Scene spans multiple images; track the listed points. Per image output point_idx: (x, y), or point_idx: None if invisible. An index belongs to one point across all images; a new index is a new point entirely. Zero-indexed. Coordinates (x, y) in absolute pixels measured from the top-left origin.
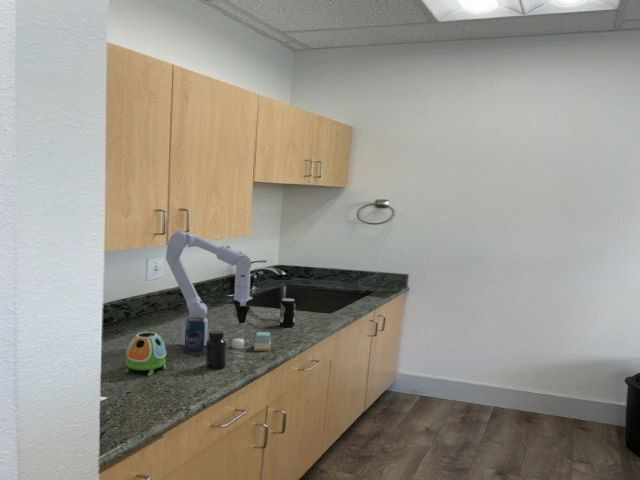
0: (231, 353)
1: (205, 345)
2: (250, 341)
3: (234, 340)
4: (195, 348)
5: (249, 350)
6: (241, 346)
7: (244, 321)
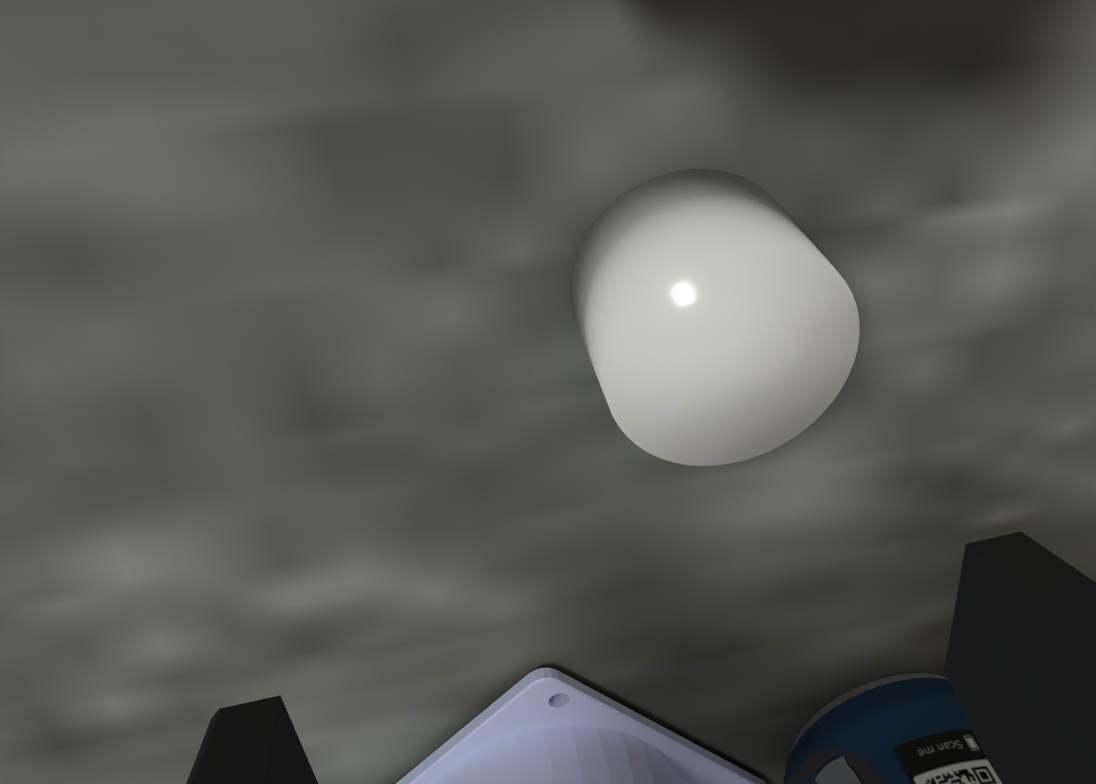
0: (1056, 328)
1: (634, 712)
2: (129, 71)
3: (781, 423)
4: None
5: (920, 29)
6: (798, 227)
7: (1072, 580)
